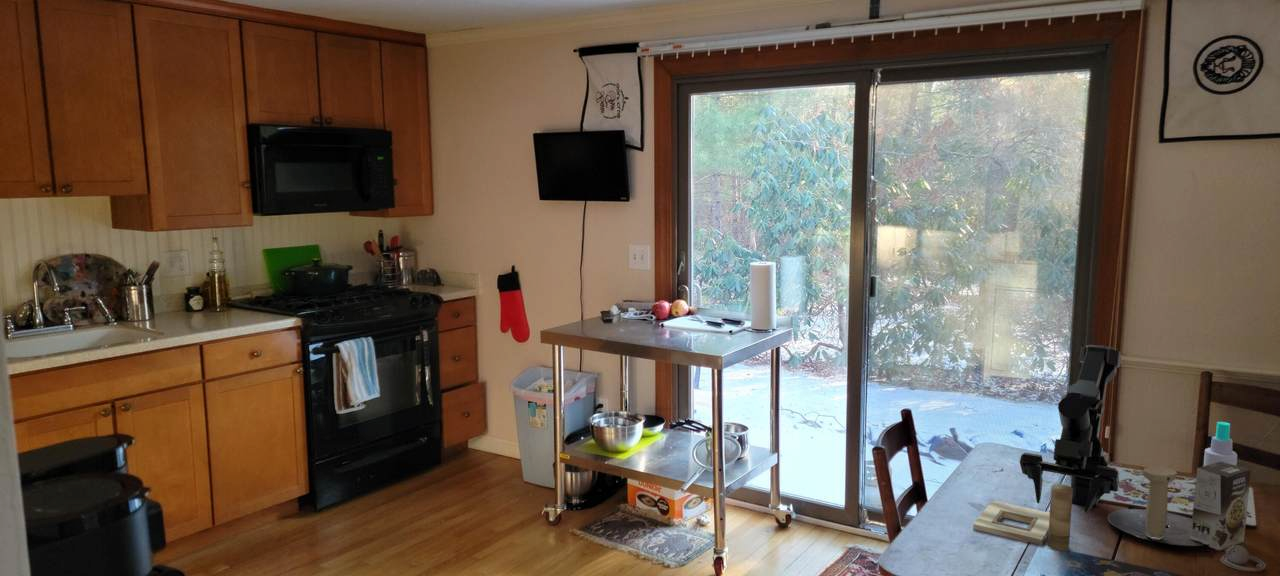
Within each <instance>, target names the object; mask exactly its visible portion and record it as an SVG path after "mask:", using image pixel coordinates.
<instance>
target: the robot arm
mask: <svg viewBox="0 0 1280 576" xmlns="http://www.w3.org/2000/svg"><path fill="white" fill-rule="evenodd" d="M1079 362H1080V363H1081V368H1080V371H1079V374H1078V378H1077V381H1076V382H1075V383H1073V384H1071V385H1069V387H1068V389H1067V392H1066V394H1063V396H1062V398H1061V400H1060V401H1059V402H1058V404H1057V409H1058V415H1059V421H1060V425H1061V426H1062V429H1061V433H1060V438H1056V439H1055V441H1054V449H1053V458H1052V459H1053V460H1054V462H1055V463H1054V462H1048V461H1043V456H1042V455H1041V454H1038V453H1031V452H1024V453H1022V454H1021V455H1020V459H1019V465H1020V469H1021V472H1022V475H1025V476H1027V478H1028V479H1030V480H1032V481H1033V484H1034V485H1033V486H1034V492H1035V499H1036V503H1037V504H1040V501H1041V499H1042V491H1043V490H1042V488H1043V482H1044V481H1043V480H1044V479H1043V472H1049V473H1054V474H1059V475H1064V476H1070V485H1069V486H1070V487H1071V488H1073V495H1072V504H1077V505H1083V506H1085V507H1084V513H1085V514H1088V513H1089V512H1090V511H1091V509H1092V508H1093V507H1094V508H1096V507H1097V506H1098V505H1099V502H1100V500H1101V498H1102V497H1103V496H1104V495H1105V494H1108V495H1109V494H1111V492H1114V493H1116V492H1118V491H1119V486H1120V477H1119V476H1120V475H1119V470H1117V467H1116V468H1115V467H1111V466H1109V463H1108V461H1107V460H1106V459H1107V458H1106V456H1105V455H1104V449H1103V446H1102V444H1101V441H1100V439H1099V437H1100V430H1101V423H1102V419H1103V413H1104V411H1105V398H1106V393H1107V392H1106V391H1107V385H1108V384H1109V383H1110V382H1111V381H1112V380H1113V379H1114V378H1115V377H1116V375H1117V371H1118V370H1117V369H1118V368H1120V367H1121V363H1122V353H1121V351H1119V350H1117V348H1116V347H1110V346H1104V345H1094V344H1088V345H1085V346H1080V352H1079Z"/></svg>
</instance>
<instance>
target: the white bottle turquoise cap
mask: <svg viewBox="0 0 1280 576" xmlns="http://www.w3.org/2000/svg"><path fill="white" fill-rule="evenodd" d="M1215 429H1216V431H1215V436H1212V437H1211V441H1210V442H1211V443H1210V447H1207V448H1205V449H1204V456H1203V466H1207V465H1210V464H1214V463H1217V462H1224V463H1228V464H1232V465H1236V466H1237V462H1238V454H1237V452H1235V451H1233V442H1234V441H1233V439H1232V438H1230V435H1231V423H1229V422H1225V421H1217V422H1216V428H1215Z"/></svg>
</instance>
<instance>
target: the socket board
mask: <svg viewBox="0 0 1280 576" xmlns="http://www.w3.org/2000/svg"><path fill="white" fill-rule="evenodd" d="M1049 517H1050V511H1044V510H1039V509H1034V508H1029V507H1025V506H1020V505H1016V504H1011V503H1005V502H1003V501H998V500H997V501H996V500H991V501H990V502H989V503H988V505H987V506H986V507H985V509H984V510H983V511H982V513H980V515H979V516H978V517H977V519H976V520H975V522H974V523H973V527H972V528H973V530H975V531H979V532H984V533H988V534H993V535H996V536H997V535H998V536H1001V537H1006V538H1011V539H1014V540H1018V541H1023V542H1027V543H1031V544H1036V545H1041V546H1042V545H1043V543H1044V542H1045V541H1046V539H1047V538H1048V530H1049ZM1003 518H1004V519H1008V520H1014V521H1017V522H1023V523H1028V524H1029V525H1028V526H1027V527H1022V526H1018V525H1013V524H1010V523H1003V522H1001V521H1002V519H1003Z"/></svg>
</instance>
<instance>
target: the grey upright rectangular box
mask: <svg viewBox="0 0 1280 576" xmlns="http://www.w3.org/2000/svg"><path fill="white" fill-rule="evenodd" d="M1251 472H1252V470H1251V469H1249V468H1247V467H1243V466H1240V465H1237V464H1236V465H1232V464H1228V463H1224V462H1217V463H1214V464H1210V465H1207V466H1204V465H1202V466H1199V467H1197V469H1196V478H1195V485H1194V486H1195V488H1194V495H1193V505H1192V506H1193V507H1192V508H1193V509H1192V516H1191V517H1192V518H1191V527H1190V535H1191V536H1193V537H1196V538H1199V539H1203V540H1205V541H1207V542H1210V543H1211V544H1210V545H1209V546H1208V547H1209V548H1211V549H1214V550H1216V551H1222V550H1224V549H1227V547H1228V548H1230V547H1232V546H1231V545H1233V546H1237V545H1238V544H1241V543H1244V541H1245V535H1246V534H1245V533H1246V524H1247V515H1248V503H1249V494H1250V484H1251V475H1252V473H1251ZM1229 546H1230V547H1229Z"/></svg>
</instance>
